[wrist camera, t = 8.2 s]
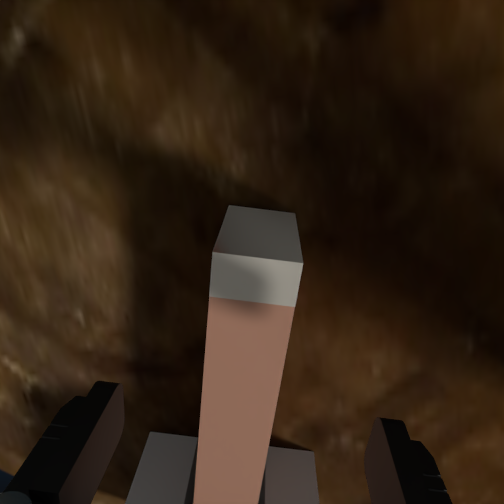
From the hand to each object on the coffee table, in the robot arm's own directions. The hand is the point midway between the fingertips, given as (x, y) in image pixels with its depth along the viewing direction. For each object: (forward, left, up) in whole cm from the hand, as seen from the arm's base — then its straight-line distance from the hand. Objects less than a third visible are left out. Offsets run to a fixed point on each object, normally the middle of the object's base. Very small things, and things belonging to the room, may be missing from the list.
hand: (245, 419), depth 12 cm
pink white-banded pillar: (0, +5, -11) cm, 11 cm away
